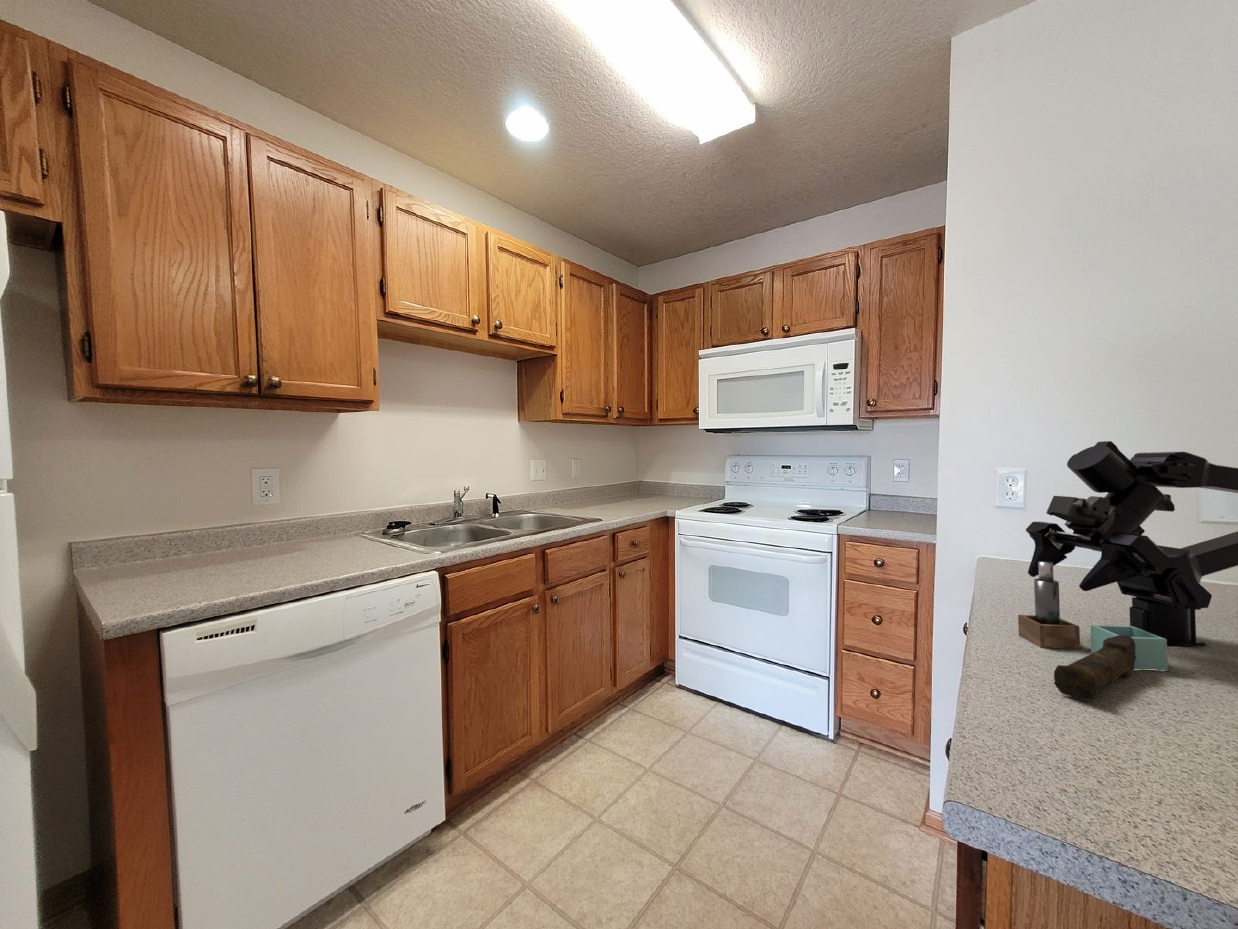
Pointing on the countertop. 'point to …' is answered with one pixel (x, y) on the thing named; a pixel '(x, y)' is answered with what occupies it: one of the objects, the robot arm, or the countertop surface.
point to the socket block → (1049, 633)
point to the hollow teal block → (1146, 645)
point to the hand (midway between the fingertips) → (1054, 581)
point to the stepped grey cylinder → (1046, 595)
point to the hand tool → (1097, 668)
